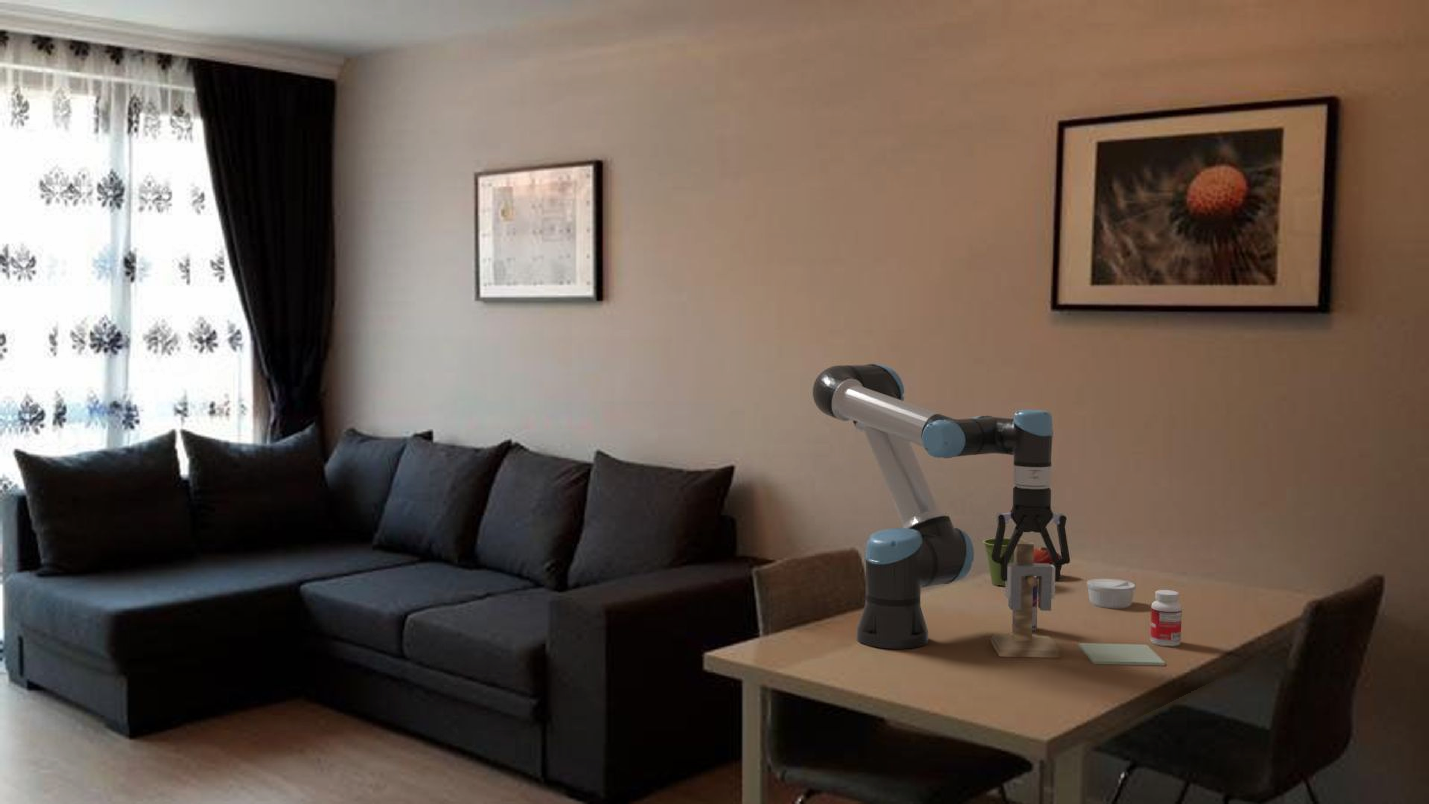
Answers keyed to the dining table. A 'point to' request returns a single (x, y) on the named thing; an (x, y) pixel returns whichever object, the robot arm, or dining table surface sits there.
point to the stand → (1024, 618)
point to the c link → (1043, 584)
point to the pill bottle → (1166, 619)
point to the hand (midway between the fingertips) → (1029, 596)
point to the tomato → (1043, 556)
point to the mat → (1121, 654)
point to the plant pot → (993, 565)
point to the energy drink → (1034, 612)
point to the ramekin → (1110, 593)
